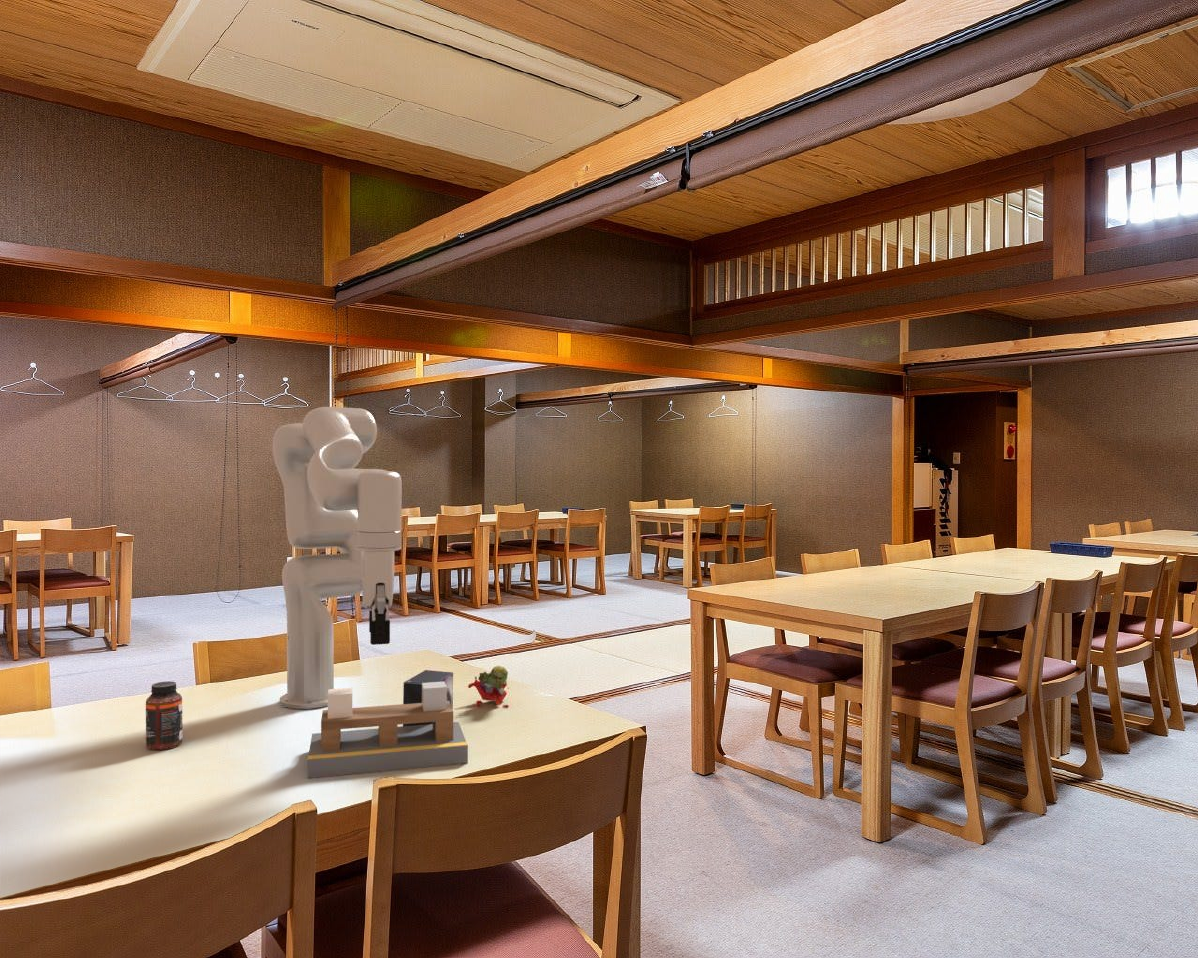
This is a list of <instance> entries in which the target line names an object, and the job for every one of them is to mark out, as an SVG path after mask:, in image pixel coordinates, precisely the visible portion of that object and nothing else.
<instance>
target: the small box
mask: <svg viewBox="0 0 1198 958" xmlns="http://www.w3.org/2000/svg"><path fill="white" fill-rule="evenodd" d="M429 682H445V684H446V687H447V701H449V702H450V704H451V707H452V709H453V710H454V704H453V703H454V702H453V701H454V697H453V696H454V672H453V671H441V670H430V669H425V670H423V671H421V672H419V673H417V674H416V675H415V676H412V677H411V678H409V679H407V680H405V681H404V682H403V683H402V684H403V689H402V690H403V691H402V693H403V694H402V695H403V699H402V702H403V703H402V704H413V703H422V683H429ZM425 724H433V722H424V723H412V724H402V726H413V725H425Z"/></svg>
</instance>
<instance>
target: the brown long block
mask: <svg viewBox="0 0 1198 958" xmlns="http://www.w3.org/2000/svg"><path fill="white" fill-rule="evenodd" d="M424 722H433V733H434V736H435V740H436V741H448V740H453V722H454V708H453V709H452V707H451V704H450V702H449V701H447V710H436V711H423V707H422V703H413V704H403V703H402V704H389V705H377V706H362V707H352V717H345V718H332V719H328V709H324V710H322V714H321V719H320V733H321V752H322V751H333V750H340V740H341V731H342V730H346V729H359V728H360V729H361V728H362V729H363V728H370V727H371V728H372V727H378V728H379V745H380V746H391V745H398V727H399V726H400V725H403V724H412V723H424ZM398 725H399V726H398Z"/></svg>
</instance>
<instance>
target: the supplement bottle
mask: <svg viewBox="0 0 1198 958" xmlns="http://www.w3.org/2000/svg"><path fill="white" fill-rule="evenodd" d="M150 692H151V694H150V695H149V696H148V697H147V698H146V700H145V744H146V745H145V746H146V748H147V749H148V750H153V751H154V750H155V751H161V750H168V749H169V750H170V749H173V748H176V747H178V746H180V745H181V744H182V743H183V738H184V737H183V736H184V735H183V734H184V733H183V696H182V694H180V693H179V692H177V682H175V681H169V680H168V681H167V680H166V681H159V682H157V683H153V684H152V685H151V691H150Z"/></svg>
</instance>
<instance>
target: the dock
mask: <svg viewBox="0 0 1198 958" xmlns="http://www.w3.org/2000/svg"><path fill="white" fill-rule="evenodd" d="M468 749H469V745H468V743H467V740H466V738H465V735H464V733H463V730H462V727H461V724H460V722H459V721H453V740H448V741H436V740H435V736H434V733H433V724H425V725H413V726H403V725H402V726H398V745H391V746H380V745H379V727H378V728H367V729H366V728H365V729H353V730H341V740H340V750H333V751H322V752H321V732H317V733H311V737H310V745H309V750H308V756H307V779H313V778H315V779H317V778H325V777H334V776H346V775H356V774H370V773H376V772H377V773H378V771H380V772H389V771H397V770H398V771H399V770H408V769H409V770H410V769H420V768H422V769H423V768H431V767H440V766H451V765H463V764H468V763H469V762H468V761H469V755H468V754H469V750H468Z"/></svg>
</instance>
